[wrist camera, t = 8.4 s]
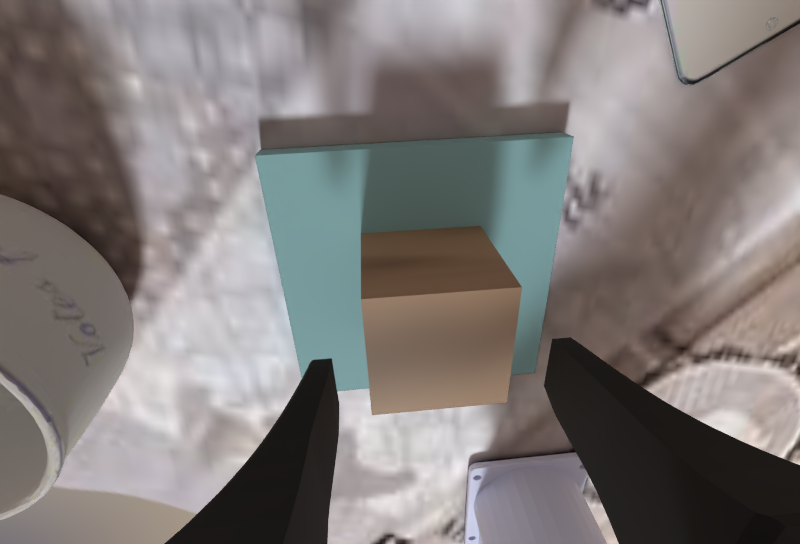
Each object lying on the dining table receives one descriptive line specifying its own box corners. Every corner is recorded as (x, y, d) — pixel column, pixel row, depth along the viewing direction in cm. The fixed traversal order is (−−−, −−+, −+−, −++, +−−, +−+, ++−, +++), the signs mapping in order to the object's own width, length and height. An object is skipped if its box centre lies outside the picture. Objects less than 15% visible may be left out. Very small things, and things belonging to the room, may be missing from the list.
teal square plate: (528, 360, 22) (535, 372, 21) (307, 380, 21) (305, 394, 21) (562, 132, 16) (573, 136, 15) (260, 149, 16) (254, 155, 15)
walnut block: (473, 322, 19) (506, 402, 15) (369, 331, 19) (372, 414, 15) (480, 225, 17) (522, 287, 13) (360, 233, 17) (361, 299, 12)
